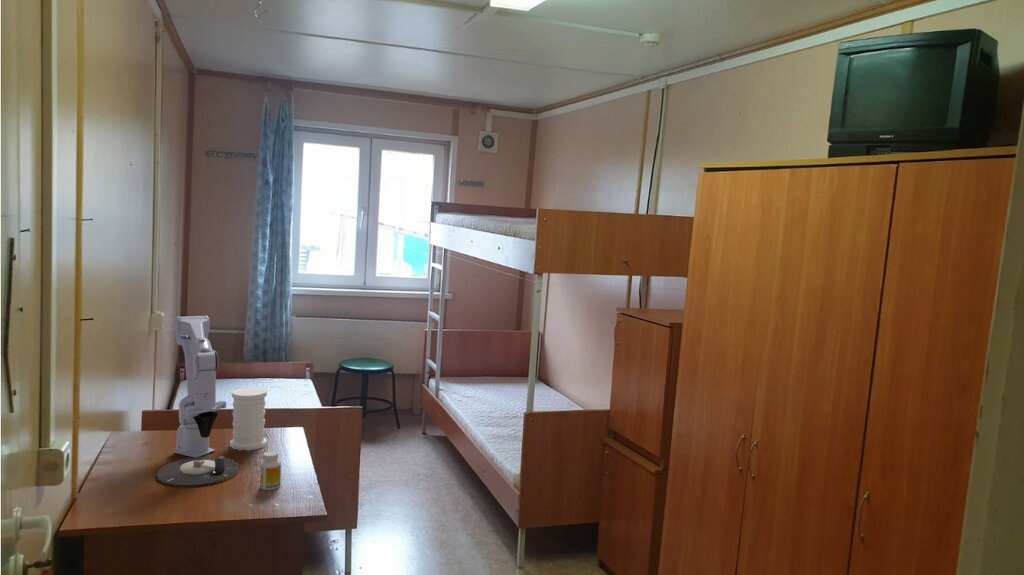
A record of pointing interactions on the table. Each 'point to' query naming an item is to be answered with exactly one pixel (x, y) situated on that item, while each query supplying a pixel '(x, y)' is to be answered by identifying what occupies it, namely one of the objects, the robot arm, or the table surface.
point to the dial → (203, 466)
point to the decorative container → (248, 419)
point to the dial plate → (174, 477)
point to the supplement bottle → (270, 471)
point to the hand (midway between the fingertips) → (204, 436)
